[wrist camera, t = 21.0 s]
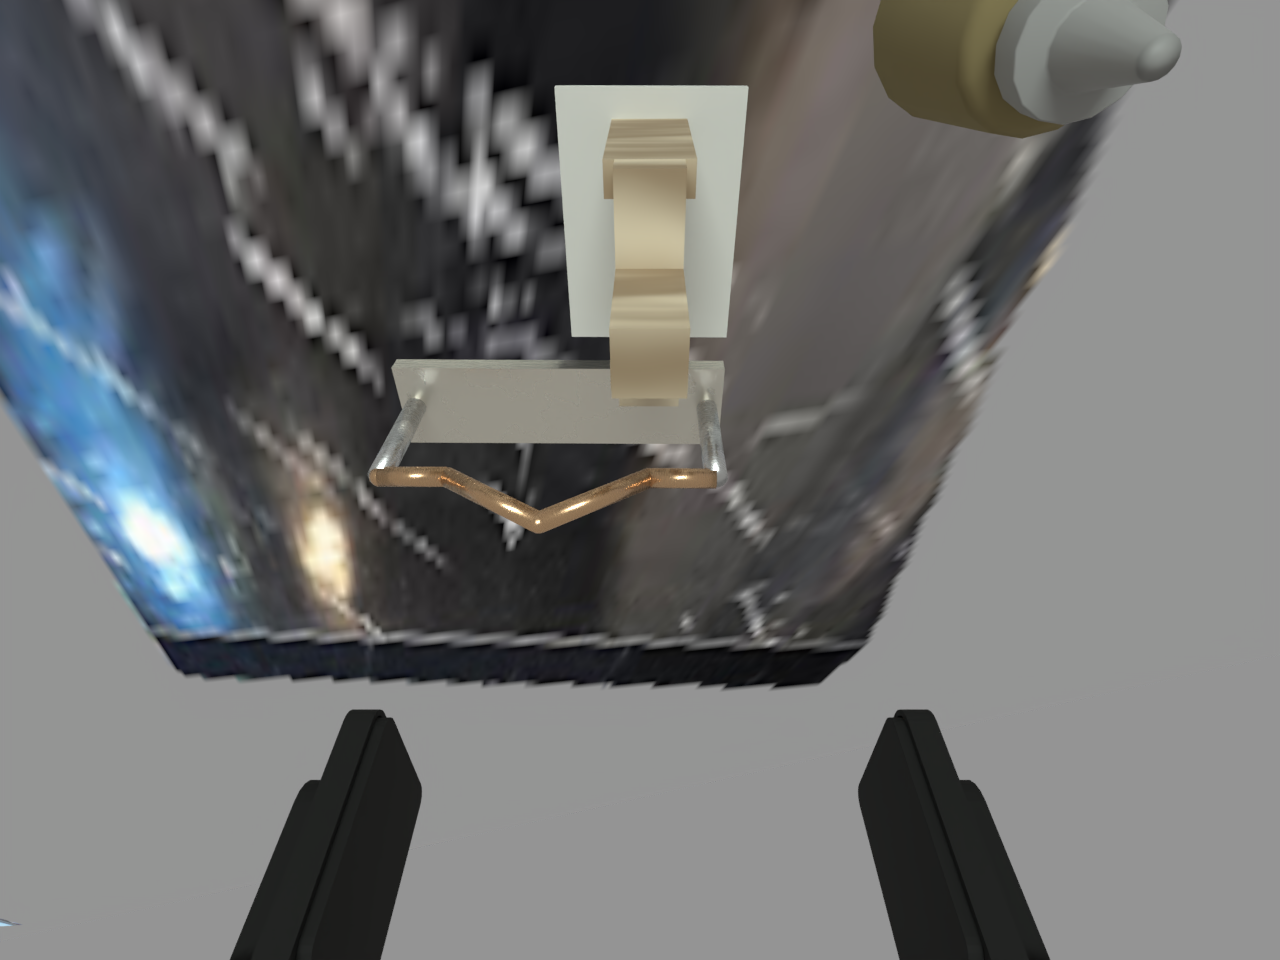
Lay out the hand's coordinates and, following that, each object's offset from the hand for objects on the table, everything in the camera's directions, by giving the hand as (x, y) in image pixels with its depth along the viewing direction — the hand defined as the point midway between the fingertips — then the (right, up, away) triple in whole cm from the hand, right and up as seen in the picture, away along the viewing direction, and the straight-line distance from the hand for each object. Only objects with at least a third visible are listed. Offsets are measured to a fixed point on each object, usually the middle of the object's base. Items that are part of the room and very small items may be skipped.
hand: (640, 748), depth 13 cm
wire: (-5, +11, +33) cm, 36 cm away
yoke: (0, +20, +26) cm, 32 cm away
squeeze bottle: (+15, +28, +20) cm, 37 cm away
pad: (+1, +20, +26) cm, 33 cm away
